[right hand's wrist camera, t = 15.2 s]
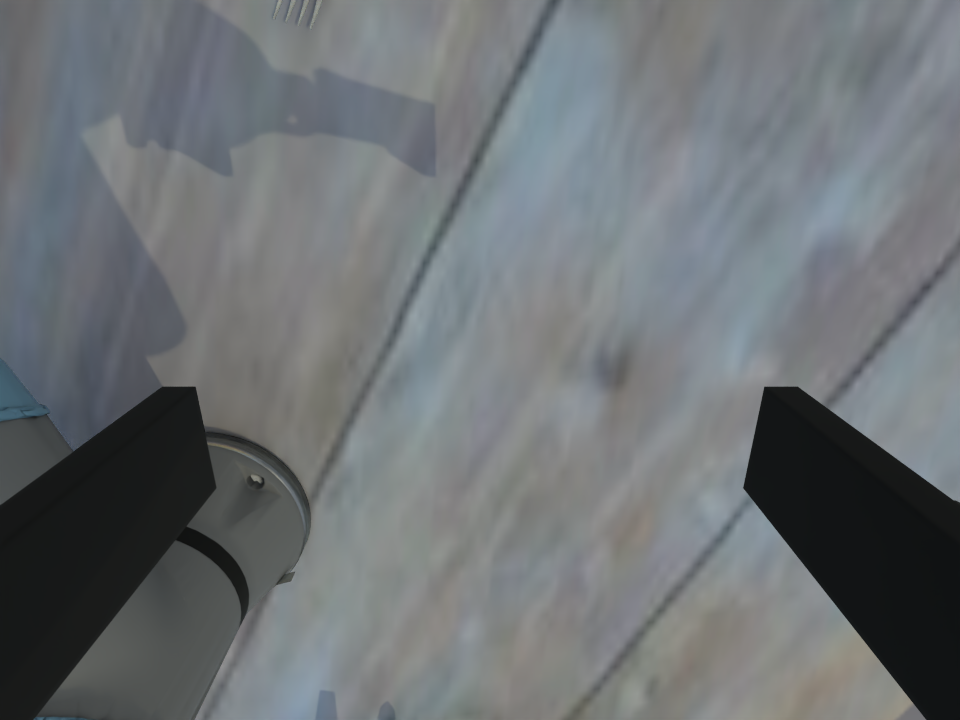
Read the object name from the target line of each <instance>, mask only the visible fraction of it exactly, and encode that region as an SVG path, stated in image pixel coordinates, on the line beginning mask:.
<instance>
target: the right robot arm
mask: <svg viewBox="0 0 960 720" xmlns="http://www.w3.org/2000/svg"><path fill="white" fill-rule="evenodd" d="M49 413H50V411H49V409H48V408H47V406H45V405H41V404H38V403H37V401H36V400H35V399H34V398H33V396H32V395H31V394H30V393H29V391H28V390H27V389H26V388H25V386H24V385H23V384H22V383H21V381H20V380H19V379H18V378H17V377H16V375H15V374H14V373H13V372H12V370H11V369H10V368H9V367H8V365H7V364H6V363H5V362H4V361H3V360H2V359H1V358H0V720H195V718H196V715H197V713H198V711H199V709H200V707H201V705H202V703H203V701H204V699H205V697H206V695H207V693H208V691H209V689H210V687H211V685H212V683H213V681H214V679H215V677H216V674H217V672H218V670H219V668H220V666H221V664H222V662H223V660H224V658H225V656H226V654H227V652H228V650H229V648H230V646H231V644H232V642H233V640H234V638H235V635H236V633H237V631H238V629H239V627H240V625H241V623H242V621H243V619H244V617H245V616H246V614H247V613H248V612H249V611H250V610H251V609H252V608H253V607H254V606H255V605H256V604H257V603H258V602H259V601H260V600H261V599H262V598H263V597H264V596H265V595H266V594H267V593H268V592H269V591H270V590H271V589H272V588H273V587H274V586H276V585H278V584H282V583H286V582H290V581H291V580H292V578H293V576H294V573H295V572H292V573H290V572H291V570H292V569H293V568H294V567H295V565H296V563H297V562H298V560H299V558H300V556H301V553H302V551H303V549H304V547H305V544H306V542H307V540H308V536H309V533H310V527H311V516H310V508H309V504H308V501H307V497H306V495H305V493H304V491H303V489H302V487H301V485H300V483H299V482H298V480H297V479H296V478H295V476H294V475H293V474H292V473H291V471H290V470H289V469H288V468H287V467H286V466H285V465H284V464H283V463H282V462H281V461H279V460H278V459H277V458H276V457H275V456H273V455H272V454H270V453H269V452H267V451H266V450H264V449H262V448H261V447H259V446H257V445H255V444H253V443H251V442H248V441H245V440H243V439H240V438H237V437H233V436H229V435H224V434H218V433H205V430H204V425H203V420H202V415H201V411H200V406H199V401H198V396H197V392H196V387H161V388H160V389H159V390H157V391H156V392H154V393H153V394H152V395H150V396H149V397H148V398H146V399H145V400H144V401H142V402H141V403H139V404H138V405H137V406H135V407H134V408H133V409H131V410H130V411H128V412H127V413H126V414H124V415H123V416H122V417H120V418H119V419H117V420H116V421H115V422H113V423H112V424H111V425H109V426H108V427H107V428H105V429H104V430H102V431H101V432H100V433H98V434H97V435H96V436H94V437H93V438H91V439H90V440H89V441H87V442H86V443H85V444H83V445H82V446H80V447H79V448H78V449H76V450H75V451H74V452H73V451H72V449H71V448H70V446H69V445H68V444H67V442H66V441H65V439H64V438H63V437H62V435H61V434H60V432H59V431H58V430H57V428H56V427H55V425H54V424H53V423H52V421H51V420H50V418H49V417H48V416H47V414H49ZM743 488H744V490H745V491H746V492H747V493H748V495H749V496H750V497H751V498H752V500H753V501H754V502H755V503H756V505H757V506H758V507H759V509H760V510H761V511H762V512H763V514H764V515H765V516H766V517H767V519H768V520H769V521H770V522H771V524H772V525H773V526H774V527H775V529H776V530H777V531H778V533H779V534H780V535H781V536H782V538H783V539H784V540H785V541H786V543H787V544H788V545H789V546H790V548H791V549H792V550H793V552H794V553H795V554H796V555H797V557H798V558H799V559H800V560H801V562H802V563H803V564H804V565H805V567H806V568H807V569H808V571H809V572H810V573H811V574H812V576H813V577H814V578H815V579H816V581H817V582H818V583H819V584H820V586H821V587H822V588H823V590H824V591H825V592H826V593H827V595H828V596H829V597H830V598H831V600H832V601H833V602H834V603H835V605H836V606H837V607H838V608H839V610H840V611H841V612H842V614H843V615H844V616H845V617H846V619H847V620H848V621H849V622H850V624H851V625H852V626H853V627H854V629H855V630H856V631H857V633H858V634H859V635H860V636H861V638H862V639H863V640H864V641H865V643H866V644H867V645H868V646H869V648H870V649H871V650H872V652H873V653H874V654H875V655H876V657H877V658H878V659H879V660H880V662H881V663H882V664H883V665H884V667H885V668H886V669H887V670H888V672H889V673H890V674H891V676H892V677H893V678H894V679H895V681H896V682H897V683H898V684H899V686H900V687H901V688H902V689H903V691H904V692H905V693H906V695H907V696H908V697H909V698H910V700H911V701H912V702H913V703H914V705H915V706H916V707H917V708H918V710H919V711H920V712H921V713H922V715H923V716H924V717H925V719H926V720H960V503H959V502H957V501H953V500H952V499H951V498H949V497H948V496H947V495H945V494H944V493H943V492H941V491H940V490H938V489H937V488H936V487H934V486H933V485H932V484H930V483H929V482H927V481H926V480H925V479H923V478H922V477H921V476H919V475H918V474H916V473H915V472H914V471H912V470H911V469H910V468H908V467H907V466H906V465H904V464H903V463H901V462H900V461H899V460H897V459H896V458H895V457H893V456H892V455H890V454H889V453H888V452H886V451H885V450H884V449H882V448H881V447H880V446H878V445H877V444H875V443H874V442H873V441H871V440H870V439H869V438H867V437H866V436H864V435H863V434H862V433H860V432H859V431H858V430H856V429H855V428H853V427H852V426H851V425H849V424H848V423H847V422H845V421H844V420H843V419H841V418H840V417H838V416H837V415H836V414H834V413H833V412H832V411H830V410H829V409H827V408H826V407H825V406H823V405H822V404H821V403H819V402H818V401H816V400H815V399H814V398H812V397H811V396H810V395H808V394H807V393H806V392H804V391H803V390H801V389H800V388H799V387H764V392H763V396H762V401H761V406H760V411H759V415H758V420H757V425H756V430H755V435H754V439H753V444H752V449H751V454H750V458H749V463H748V468H747V473H746V478H745V482H744V487H743Z"/></svg>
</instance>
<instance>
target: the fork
mask: <svg viewBox="0 0 960 720" xmlns="http://www.w3.org/2000/svg"><path fill="white" fill-rule="evenodd" d="M282 1H283V0H278V2H277V6H276V10H275V13H274V16H273V20H275V18H276V16H277V13H278V11H279V9H280V6H281V4H282ZM322 1H323V0H317V1H316V6H315V10H314V14H313V18H312V22H311V25H310V30H312V27H313V25H314V22H315V19H316V17H317V14H318V12H319V9H320V6H321V4H322ZM295 2H296V0H291V2H290V6H289V10H288V14H287V18H286V23H287V22H288V20H289V17H290V15H291V12H292V10H293V7H294V5H295ZM308 3H309V0H304V2H303V6H302V10H301V14H300V18H299V22H298V26H300V23H301V21H302V18H303V16H304V13H305V11H306V8H307V6H308Z"/></svg>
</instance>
